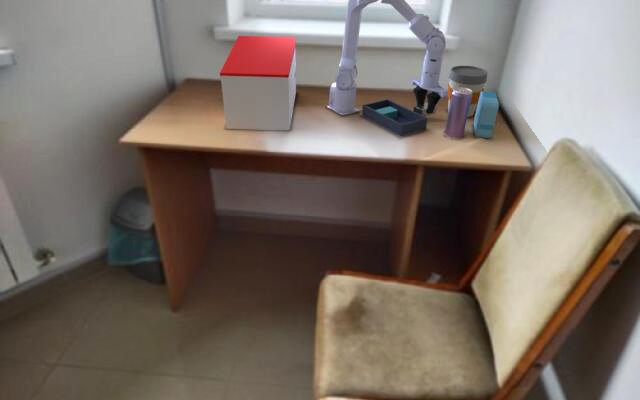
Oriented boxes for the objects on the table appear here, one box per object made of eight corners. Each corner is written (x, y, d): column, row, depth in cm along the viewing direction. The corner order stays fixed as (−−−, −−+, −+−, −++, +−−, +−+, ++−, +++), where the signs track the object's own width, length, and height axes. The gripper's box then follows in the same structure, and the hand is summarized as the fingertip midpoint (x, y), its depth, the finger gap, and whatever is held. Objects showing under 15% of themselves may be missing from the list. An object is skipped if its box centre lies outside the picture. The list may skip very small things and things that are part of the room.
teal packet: (373, 117, 151) (374, 110, 150) (389, 113, 154) (389, 106, 153) (381, 122, 148) (382, 114, 147) (397, 117, 152) (398, 110, 150)
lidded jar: (457, 121, 151) (466, 78, 143) (435, 108, 161) (442, 67, 152) (486, 116, 156) (496, 74, 147) (463, 103, 165) (471, 63, 157)
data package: (490, 140, 139) (499, 104, 133) (475, 138, 140) (484, 102, 133) (486, 125, 149) (495, 91, 142) (473, 123, 150) (481, 89, 143)
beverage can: (459, 140, 139) (469, 95, 130) (441, 136, 141) (450, 91, 133) (465, 134, 143) (475, 89, 134) (447, 129, 145) (456, 85, 137)
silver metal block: (412, 113, 151) (413, 105, 149) (427, 109, 154) (428, 102, 153) (421, 117, 148) (422, 110, 147) (436, 113, 151) (437, 106, 150)
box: (361, 116, 153) (362, 104, 151) (386, 110, 158) (387, 98, 156) (400, 137, 140) (402, 125, 137) (425, 130, 145) (427, 117, 142)
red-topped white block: (296, 92, 172) (295, 37, 160) (289, 130, 142) (288, 66, 131) (243, 91, 172) (238, 35, 160) (225, 128, 142) (218, 64, 131)
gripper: (456, 75, 140) (449, 115, 148) (424, 63, 150) (418, 101, 157) (441, 79, 137) (434, 119, 144) (409, 66, 147) (403, 105, 154)
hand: (425, 110), depth 151 cm, fingers closed on silver metal block, 4 cm apart
